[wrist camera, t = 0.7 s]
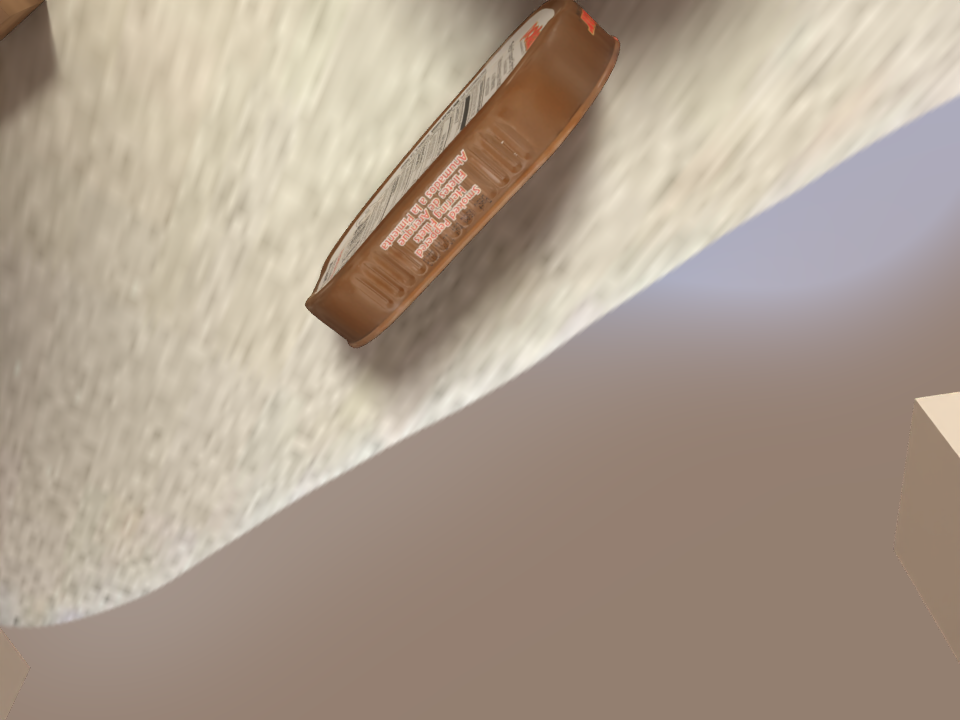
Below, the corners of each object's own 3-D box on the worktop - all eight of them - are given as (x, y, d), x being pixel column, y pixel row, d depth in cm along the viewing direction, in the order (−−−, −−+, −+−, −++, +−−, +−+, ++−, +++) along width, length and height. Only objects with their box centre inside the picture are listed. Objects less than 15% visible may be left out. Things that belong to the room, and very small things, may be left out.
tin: (368, 287, 39) (347, 395, 31) (310, 246, 37) (275, 348, 30) (608, 22, 33) (649, 81, 25) (548, -38, 31) (574, 7, 24)
